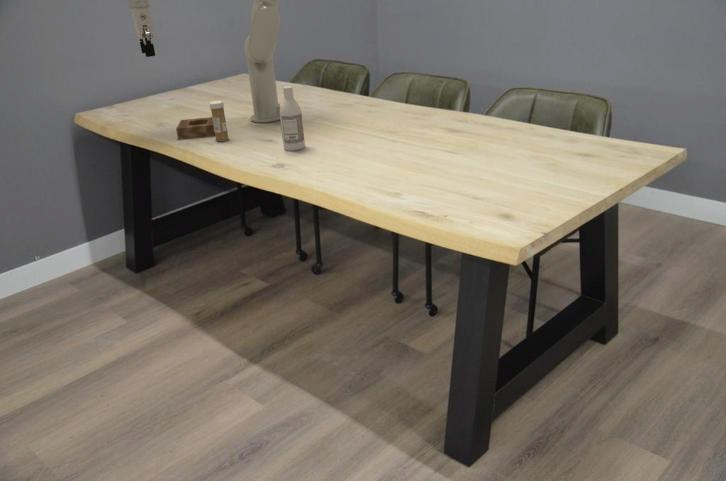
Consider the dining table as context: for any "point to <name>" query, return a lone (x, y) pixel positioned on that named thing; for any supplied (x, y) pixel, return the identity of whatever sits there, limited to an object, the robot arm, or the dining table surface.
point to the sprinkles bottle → (219, 120)
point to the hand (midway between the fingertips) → (148, 54)
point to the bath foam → (291, 122)
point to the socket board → (195, 128)
